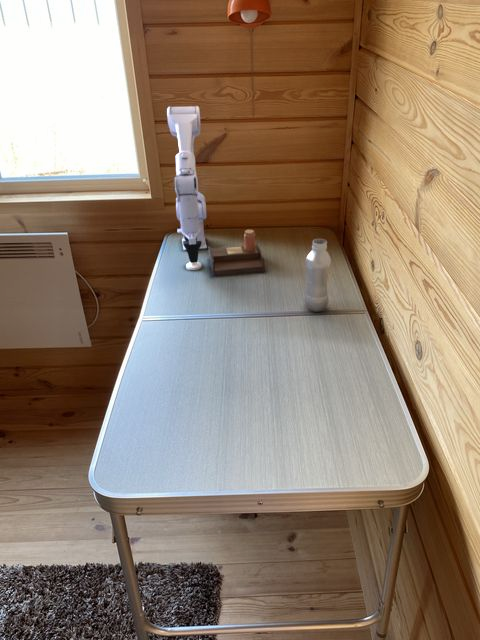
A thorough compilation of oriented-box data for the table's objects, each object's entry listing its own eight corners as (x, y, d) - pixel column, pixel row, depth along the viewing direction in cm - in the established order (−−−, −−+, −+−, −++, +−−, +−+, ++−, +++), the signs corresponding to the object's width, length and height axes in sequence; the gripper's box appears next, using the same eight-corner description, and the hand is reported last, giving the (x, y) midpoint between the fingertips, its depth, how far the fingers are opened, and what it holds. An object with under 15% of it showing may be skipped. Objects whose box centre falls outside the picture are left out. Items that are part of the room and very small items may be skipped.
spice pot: (243, 247, 168) (242, 229, 165) (254, 246, 169) (254, 228, 165) (245, 252, 165) (244, 233, 162) (256, 251, 166) (255, 233, 162)
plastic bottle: (326, 315, 141) (331, 247, 129) (302, 313, 142) (305, 245, 130) (328, 304, 146) (334, 237, 134) (305, 301, 147) (308, 235, 135)
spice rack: (209, 260, 170) (208, 246, 167) (257, 256, 172) (257, 242, 169) (213, 276, 160) (212, 261, 157) (264, 272, 162) (264, 257, 160)
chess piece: (202, 263, 168) (200, 234, 162) (199, 270, 164) (197, 240, 158) (187, 263, 168) (185, 234, 162) (184, 269, 164) (181, 240, 158)
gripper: (174, 208, 161) (179, 248, 169) (177, 225, 149) (181, 267, 157) (197, 206, 162) (200, 246, 170) (201, 223, 151) (204, 265, 158)
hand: (192, 256), depth 164 cm, fingers open, 7 cm apart
